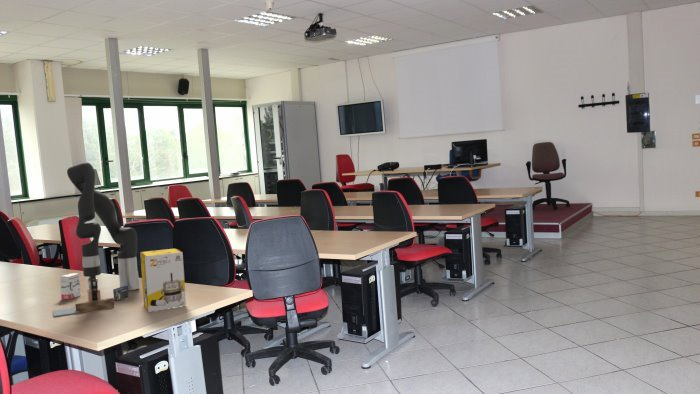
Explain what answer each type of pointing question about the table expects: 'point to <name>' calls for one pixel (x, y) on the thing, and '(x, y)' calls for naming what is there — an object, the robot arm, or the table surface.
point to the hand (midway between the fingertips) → (94, 300)
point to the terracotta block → (91, 294)
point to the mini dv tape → (120, 293)
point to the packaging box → (163, 279)
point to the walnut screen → (94, 305)
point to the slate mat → (65, 312)
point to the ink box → (70, 286)
